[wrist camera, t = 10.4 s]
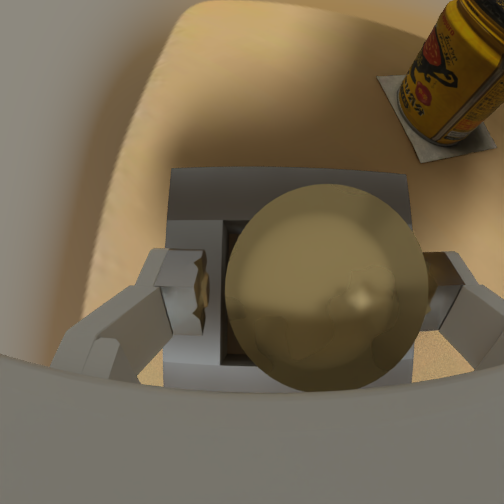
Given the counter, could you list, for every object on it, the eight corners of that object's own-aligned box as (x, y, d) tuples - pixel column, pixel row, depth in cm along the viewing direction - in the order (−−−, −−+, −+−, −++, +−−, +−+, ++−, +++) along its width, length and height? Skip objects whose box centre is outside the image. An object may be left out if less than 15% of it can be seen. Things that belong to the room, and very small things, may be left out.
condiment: (375, 77, 19) (432, -50, 7) (454, 74, 19) (520, -16, 7) (419, 164, 18) (530, 55, 6) (495, 149, 18) (591, 74, 6)
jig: (183, 188, 18) (164, 161, 14) (384, 192, 18) (411, 167, 14) (189, 539, 15) (178, 573, 11) (359, 535, 14) (373, 568, 10)
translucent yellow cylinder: (287, 234, 17) (322, 146, 7) (348, 291, 16) (459, 279, 6) (229, 296, 16) (180, 293, 6) (291, 354, 16) (334, 432, 6)
